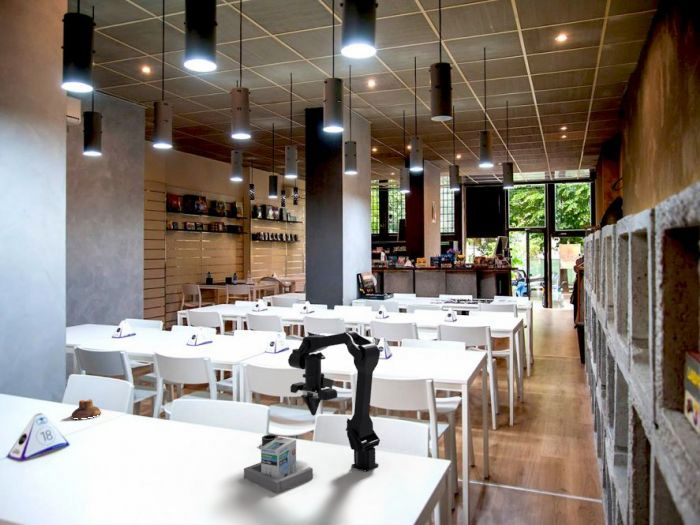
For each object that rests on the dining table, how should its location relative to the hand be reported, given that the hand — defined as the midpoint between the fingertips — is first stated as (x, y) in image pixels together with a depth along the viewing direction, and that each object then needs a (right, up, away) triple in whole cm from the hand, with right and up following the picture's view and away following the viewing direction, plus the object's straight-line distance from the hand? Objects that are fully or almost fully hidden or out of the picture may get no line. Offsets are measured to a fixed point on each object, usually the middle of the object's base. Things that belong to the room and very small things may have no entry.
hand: (313, 415), depth 189 cm
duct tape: (-16, -13, +5) cm, 21 cm away
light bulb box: (-9, -13, -24) cm, 29 cm away
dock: (-9, -12, -24) cm, 29 cm away
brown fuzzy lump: (-102, -13, +43) cm, 112 cm away
